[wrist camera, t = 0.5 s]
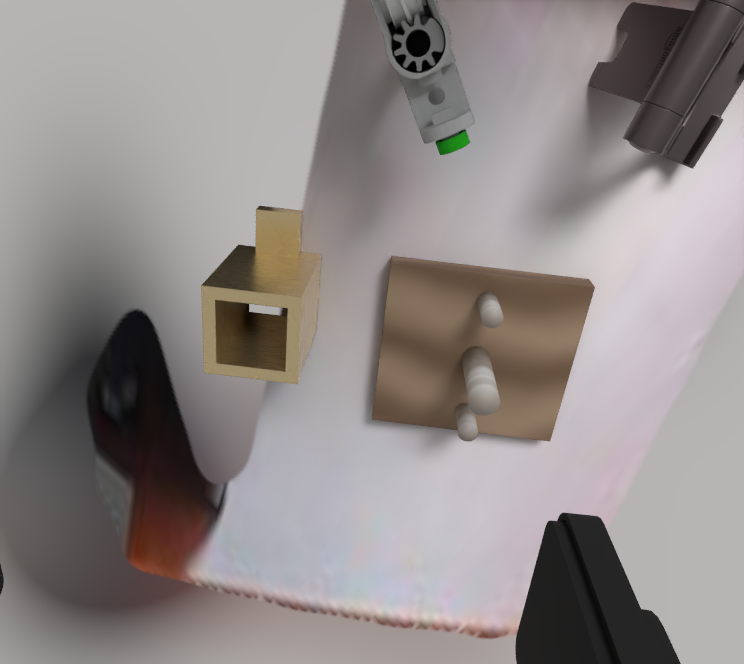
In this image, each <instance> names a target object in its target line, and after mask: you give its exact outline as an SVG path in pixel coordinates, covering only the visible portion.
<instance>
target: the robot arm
mask: <svg viewBox="0 0 744 664" xmlns="http://www.w3.org/2000/svg"><path fill="white" fill-rule="evenodd" d="M3 582H4V580H3V573H2V570H1V565H0V594H1V591H2V588H3ZM516 661H517V664H680V662H679V659H678V657H677V655H676V653H675V651H674V649H673V646H672V644H671V642H670V640H669V638H668V636H667V633H666V631H665V629H664V627H663V625H662V623H661V622H660V620H659V618H658V617H657V616H656V615H655V614H654V613H653V612H652V611H649V610H643V609H641V608H640V606H639V604H638V601H637V599H636V597H635V594H634V592H633V590H632V587H631V585H630V583H629V580H628V578H627V576H626V574H625V571H624V569H623V567H622V564H621V562H620V560H619V558H618V555H617V553H616V551H615V548H614V546H613V544H612V541H611V539H610V537H609V535H608V532H607V530H606V528H605V525H604V523H603V521H602V520H601V518H599V517H598V516H590V515H581V514H571V513H561V515H560V516H559V518H558V521H548V523H547V525H546V528H545V531H544V535H543V539H542V543H541V546H540V550H539V554H538V558H537V561H536V565H535V569H534V573H533V576H532V580H531V584H530V588H529V591H528V595H527V599H526V603H525V606H524V610H523V614H522V618H521V621H520V625H519V629H518V633H517V637H516Z"/></svg>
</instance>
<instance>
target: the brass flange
mask: <svg viewBox="0 0 744 664" xmlns="http://www.w3.org/2000/svg"><path fill="white" fill-rule="evenodd" d="M302 213H303V211H300V210H290V209H283V208H274V207H265V206H259V207H258V208H257V209H256V247H253V246H244V245H238V246H237V247H236V248H235V249H234V250H233V251H232V252H231V254H230V255H229V256H228V257H227V258H226V259H225V260H224V261H223V262H222V263H221V264H220V266H219V267H218V268H217V269H216V270H215V271H214V272H213V273H212V274H211V275H210V277H209V278H208V279H207V280H206V281H205V282H204V283H203V284H202V285H201V290H202V319H203V351H204V373H210V374H219V375H227V376H235V377H244V378H251V379H260V380H268V381H276V382H284V383H292V384H298V381H299V378H300V375H301V372H302V370H303V367H304V364H305V361H306V358H307V355H308V353H309V350H310V347H311V344H312V341H313V338H314V336H315V333H316V330H317V316H318V300H319V285H320V269H321V254H312V253H304V252H301V234H302ZM249 304H257V305H265V306H273V307H282V308H288V317H287V316H278V315H270V314H261V313H253V312H249Z"/></svg>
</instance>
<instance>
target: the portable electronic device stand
mask: <svg viewBox="0 0 744 664" xmlns="http://www.w3.org/2000/svg"><path fill="white" fill-rule="evenodd" d="M617 26H618V27H619V28H621V29H623V30H625V31H627V32H628V37H627V39H626V41H625V43H624V45H623V47H622V48H621V50H620V52H619V54H618V56H617V58H616V59H615V60H614V61H613V62H607V63H604V62H598V64H597V66H596V68H595V70H594V72H593V74H592V76H591V78H590V86H592V87H594V88H598V89H600V90H603V91H606V92H609V93H612V94H615V95H618V96H621V97H624V98H627V99H630V100H633V101H635V102H638V103H641V106H640V108H639V110H638V112H637V113H636V115H635V117H634V119H633V120H632V122H631V124H630V126H629V128H628V129H627V131H626V133H625V135H624V137H623V138H624V139H626V140H628V141H629V143H630V144H631V145H632V146H633V147H635V148H637V149H638V150H641V151H643V152H647V153H658V154H660V155H662V156H664V157H667V158H669V159H671V160H674V161H676V162H678V163H680V164H683V165H685V166H687V167H690V168H694V166H695V165H696V163H697V161H698V160H699V158H700V157H701V155H702V153H703V152H704V150H705V149H706V147H707V146H708V144H709V142H710V141H711V139H712V138H713V136H714V134H715V133H716V131H717V130H718V128H719V126H720V125H721V123H722V122H723V119H721V115H722V114H723V112H724V110H725V109H726V107H727V106H728V104H729V102H730V101H731V99H732V98H733V96H734V94H735V93H736V91H737V90H738V88H739V86H740V85H741V83H742V82H743V80H744V0H700V1H699V3H698V5H697V6H696V8H695V10H694V11H690V10H683V9H676V8H669V7H661V6H654V5H647V4H640V3H635V2H633V3H631V4H630V5H629V6H628V7H627V8H626V10H625V12H624V14H623V16H622V17H621V19H620V21H619V23H618V25H617Z"/></svg>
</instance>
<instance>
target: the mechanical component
mask: <svg viewBox="0 0 744 664" xmlns="http://www.w3.org/2000/svg"><path fill="white" fill-rule="evenodd" d="M370 1H371V4H372V7H373V9H374V12H375V15H376V17H377V20H378V23H379V26H380V28H381V31H382V34H383V36H384V39H385V46H386V53H387V56H388V59H389V61H390V63H391V65H392V66H393V68H394V69H395V70H396V71H397V72H398V74H399V77H400V80H401V83H402V85H403V86H404V89H405V92H406V94H407V97H408V100H409V103H410V105H411V108H412V111H413V113H414V116H415V119H416V121H417V124H418V127H419V130H420V133H421V136H422V139H423V141H424V143H431V142H434V141H436V145H437V148H438V150H439V153H440V155H444V154H448V153H451V152H454V151H456V150H458V149H461V148H463V147H464V146H466V145H468V144H469V143H470V141H469V138H468V135H467V132H466V130H465V128H467V127H469V126H470V125H472V124H473V123H474V122H475V120H474V117H473V114H472V111H471V109H470V107H469V104H468V101H467V98H466V95H465V92H464V89H463V86H462V83H461V80H460V77H459V74H458V71H457V68H456V65H455V59H454V56H453V53H452V50H451V33H450V29H449V26H448V24H447V22H446V20H445V19H444V18H443V17H442V15H441V13H440V10H439V7H438V4H437V1H436V0H370ZM463 129H464V130H463Z"/></svg>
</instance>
